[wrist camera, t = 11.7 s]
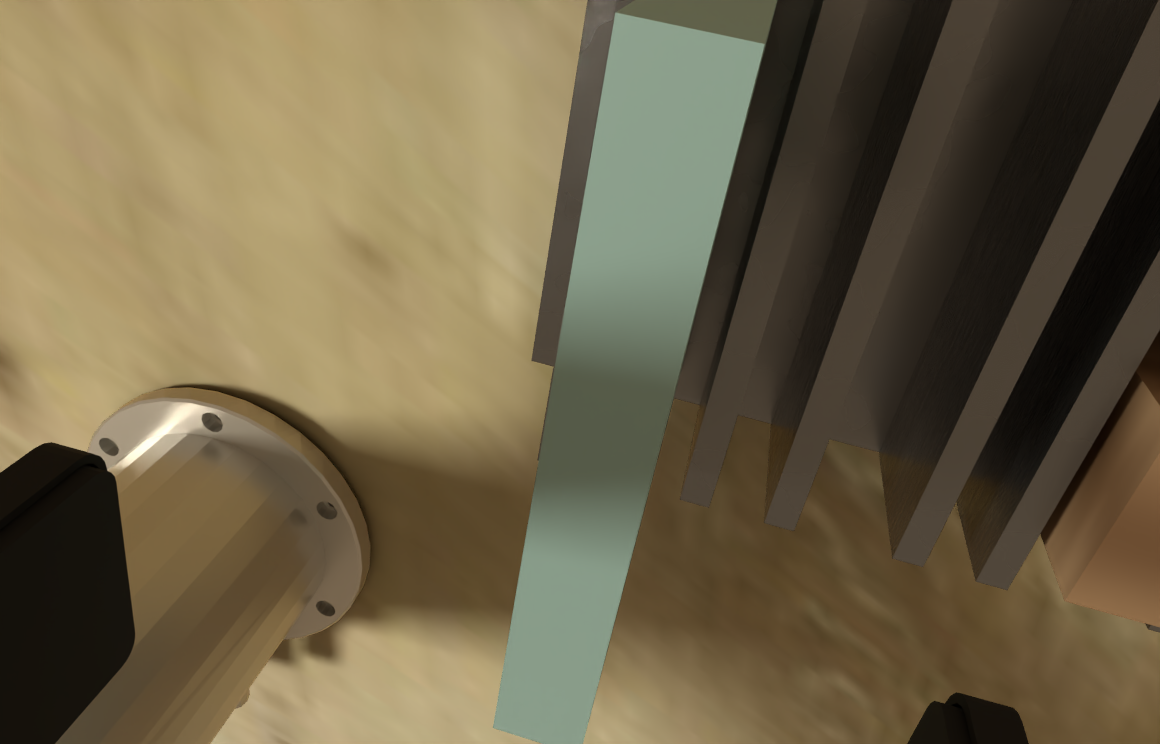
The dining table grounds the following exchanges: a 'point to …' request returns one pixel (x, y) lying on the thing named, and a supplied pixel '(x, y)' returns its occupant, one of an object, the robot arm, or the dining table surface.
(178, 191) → the dining table surface
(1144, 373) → the tall walnut offcut
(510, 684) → the teal sheet
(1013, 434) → the rack
